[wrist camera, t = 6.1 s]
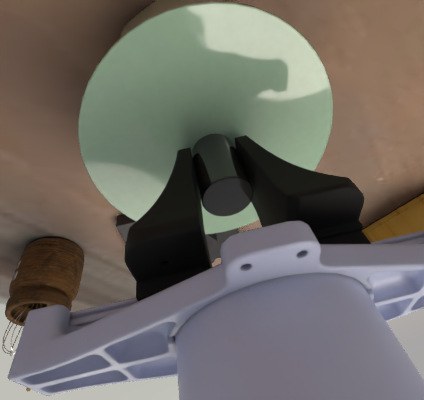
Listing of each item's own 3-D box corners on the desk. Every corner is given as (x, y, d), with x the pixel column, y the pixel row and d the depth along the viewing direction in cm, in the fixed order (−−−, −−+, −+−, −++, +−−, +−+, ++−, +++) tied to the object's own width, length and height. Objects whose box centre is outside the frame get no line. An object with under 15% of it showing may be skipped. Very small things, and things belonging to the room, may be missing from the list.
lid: (133, 241, 20) (130, 303, 17) (21, 33, 11) (-38, 73, 8) (310, 200, 21) (344, 252, 17) (345, -31, 12) (433, -22, 8)
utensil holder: (75, 231, 29) (44, 356, 20) (92, 267, 33) (72, 383, 24) (13, 238, 28) (-48, 372, 19) (39, 274, 32) (-2, 396, 23)
